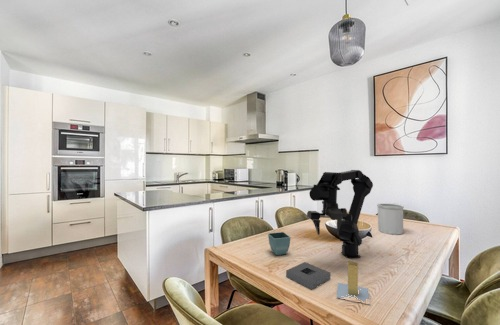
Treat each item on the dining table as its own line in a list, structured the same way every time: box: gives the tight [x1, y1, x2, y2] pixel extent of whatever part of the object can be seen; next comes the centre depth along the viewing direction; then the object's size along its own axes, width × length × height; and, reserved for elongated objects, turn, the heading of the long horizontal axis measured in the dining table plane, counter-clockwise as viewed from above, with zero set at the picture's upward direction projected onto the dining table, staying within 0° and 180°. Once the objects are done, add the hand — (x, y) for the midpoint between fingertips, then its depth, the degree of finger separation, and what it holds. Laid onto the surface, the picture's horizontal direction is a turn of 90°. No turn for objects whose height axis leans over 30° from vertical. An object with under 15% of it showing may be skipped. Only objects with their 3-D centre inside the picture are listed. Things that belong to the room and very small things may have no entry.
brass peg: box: [347, 260, 359, 296], centre depth 79 cm, size 3×3×10 cm
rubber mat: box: [336, 282, 371, 302], centre depth 79 cm, size 10×10×1 cm
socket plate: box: [285, 261, 331, 291], centre depth 89 cm, size 12×12×2 cm
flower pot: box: [267, 231, 292, 256], centre depth 114 cm, size 9×9×9 cm
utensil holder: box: [376, 202, 405, 236], centre depth 149 cm, size 15×15×18 cm
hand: (328, 234), depth 102 cm, fingers open, 9 cm apart
